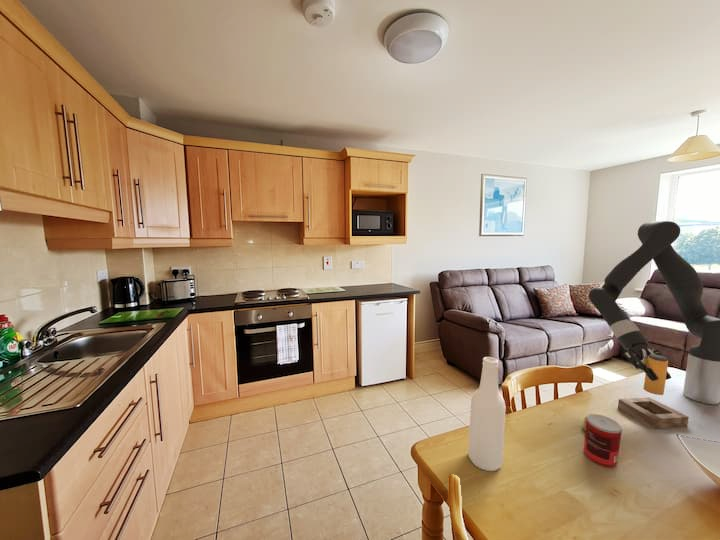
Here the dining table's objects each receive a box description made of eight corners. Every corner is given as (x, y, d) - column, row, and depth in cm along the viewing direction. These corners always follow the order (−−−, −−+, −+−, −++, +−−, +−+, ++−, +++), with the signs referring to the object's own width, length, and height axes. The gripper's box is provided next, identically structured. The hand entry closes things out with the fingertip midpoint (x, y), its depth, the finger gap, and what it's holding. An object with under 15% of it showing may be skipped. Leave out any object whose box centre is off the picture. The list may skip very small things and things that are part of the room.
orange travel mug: (651, 387, 105) (656, 353, 104) (667, 394, 100) (672, 359, 99) (639, 387, 105) (644, 354, 103) (654, 395, 100) (659, 360, 98)
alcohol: (489, 477, 77) (495, 369, 73) (461, 456, 84) (466, 357, 81) (508, 464, 81) (515, 361, 78) (480, 445, 89) (486, 350, 85)
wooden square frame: (648, 406, 110) (649, 397, 110) (687, 426, 98) (688, 416, 98) (617, 407, 109) (618, 399, 108) (652, 428, 97) (654, 419, 96)
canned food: (609, 451, 86) (613, 416, 85) (623, 471, 79) (628, 433, 78) (578, 445, 89) (582, 411, 88) (589, 464, 81) (593, 427, 80)
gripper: (621, 330, 106) (655, 377, 96) (652, 328, 109) (689, 374, 98) (604, 339, 112) (635, 384, 101) (634, 337, 115) (667, 381, 104)
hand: (661, 379), depth 100 cm, fingers closed on orange travel mug, 5 cm apart
